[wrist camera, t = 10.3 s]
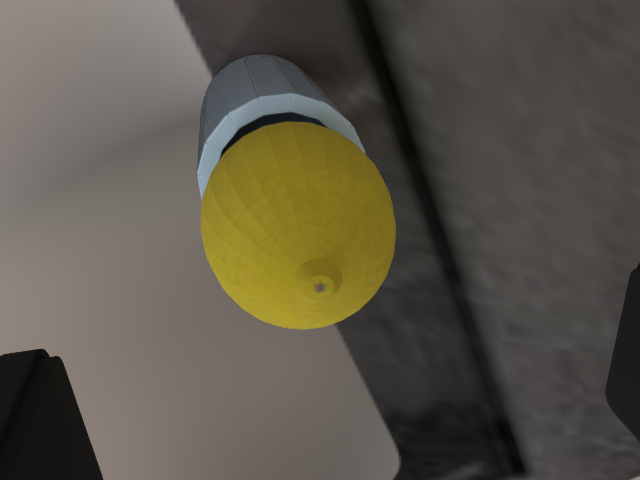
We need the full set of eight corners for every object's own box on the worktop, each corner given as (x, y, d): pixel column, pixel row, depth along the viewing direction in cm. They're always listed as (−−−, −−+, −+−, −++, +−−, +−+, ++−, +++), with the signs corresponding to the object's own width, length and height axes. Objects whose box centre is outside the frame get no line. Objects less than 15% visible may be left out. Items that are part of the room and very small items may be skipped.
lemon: (386, 142, 20) (480, 237, 13) (309, 267, 22) (357, 410, 15) (247, 65, 18) (270, 129, 11) (175, 208, 20) (156, 341, 13)
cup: (192, 60, 25) (184, 104, 17) (316, 48, 26) (364, 85, 18) (211, 179, 28) (212, 266, 20) (324, 165, 28) (369, 244, 20)
